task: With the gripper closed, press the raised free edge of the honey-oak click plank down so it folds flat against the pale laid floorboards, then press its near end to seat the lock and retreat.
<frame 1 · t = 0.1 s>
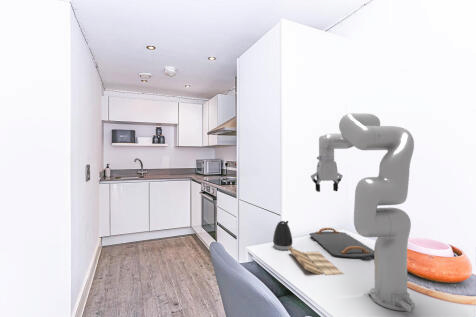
hand: (326, 191, 127), 31 cm above the table, fingers open, 9 cm apart
laid boards: (321, 264, 110), on the table
plank: (304, 260, 109), point 2 cm above the table, hinge at 25.0°
pump dispenser: (282, 249, 129), on the table
serving board: (339, 247, 133), on the table
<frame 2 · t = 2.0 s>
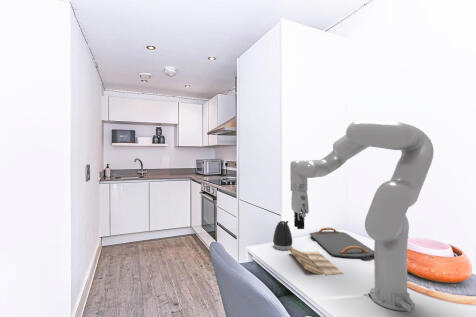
hand: (299, 227, 110), 17 cm above the table, fingers closed
nothing on the table moved.
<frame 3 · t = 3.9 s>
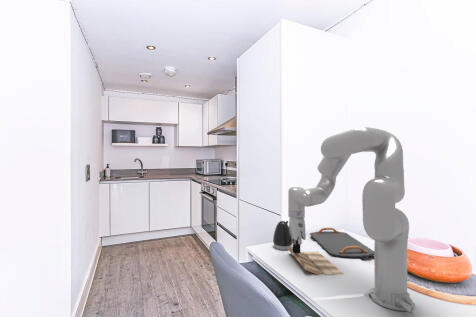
hand: (296, 252, 113), 4 cm above the table, fingers closed
plank: (304, 260, 109), point 2 cm above the table, hinge at 23.9°, touching gripper
everything else where it was.
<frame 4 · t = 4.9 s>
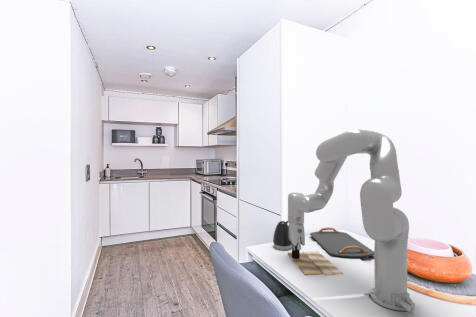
hand: (295, 257, 114), 2 cm above the table, fingers closed
plank: (303, 263, 109), point 1 cm above the table, hinge at 5.2°, touching gripper
everything else where it was.
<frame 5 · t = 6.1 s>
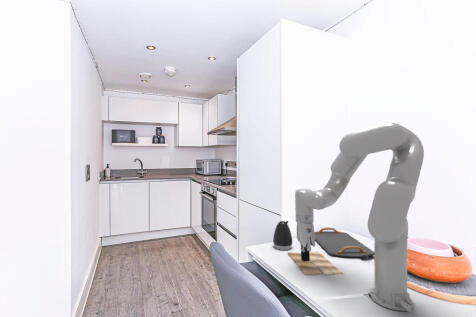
hand: (305, 260, 104), 5 cm above the table, fingers closed
plank: (303, 263, 109), point 1 cm above the table, hinge at 5.1°
everything else where it was.
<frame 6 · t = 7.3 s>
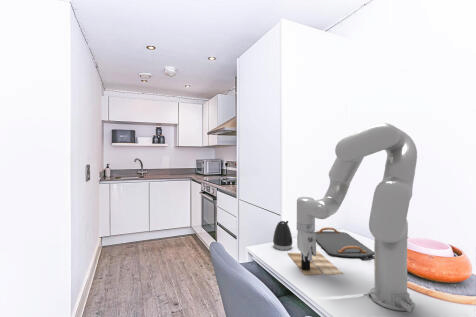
hand: (305, 269, 102), 2 cm above the table, fingers closed
plank: (303, 263, 109), point 1 cm above the table, hinge at 3.2°, touching gripper
everything else where it was.
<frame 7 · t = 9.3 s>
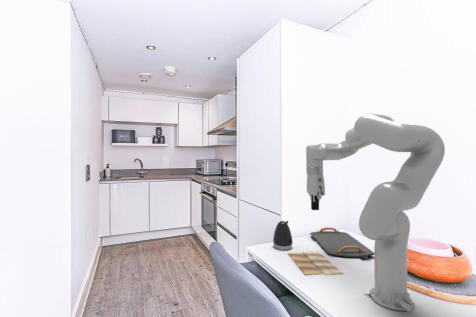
hand: (315, 209, 114), 24 cm above the table, fingers closed
plank: (303, 263, 109), point 1 cm above the table, hinge at 2.6°
everything else where it was.
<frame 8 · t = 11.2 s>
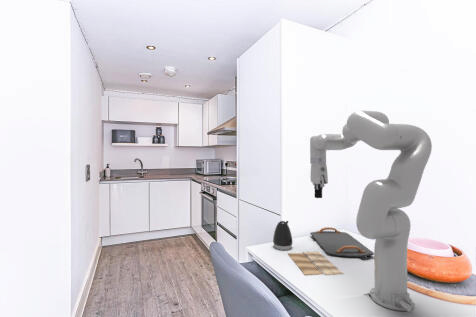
hand: (318, 197, 119), 29 cm above the table, fingers closed
at the end: plank at +3° (first picture: +25°); plank touching nothing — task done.
